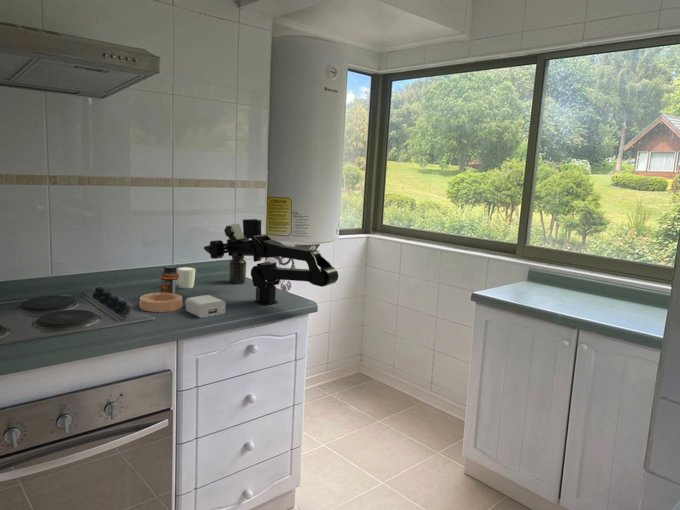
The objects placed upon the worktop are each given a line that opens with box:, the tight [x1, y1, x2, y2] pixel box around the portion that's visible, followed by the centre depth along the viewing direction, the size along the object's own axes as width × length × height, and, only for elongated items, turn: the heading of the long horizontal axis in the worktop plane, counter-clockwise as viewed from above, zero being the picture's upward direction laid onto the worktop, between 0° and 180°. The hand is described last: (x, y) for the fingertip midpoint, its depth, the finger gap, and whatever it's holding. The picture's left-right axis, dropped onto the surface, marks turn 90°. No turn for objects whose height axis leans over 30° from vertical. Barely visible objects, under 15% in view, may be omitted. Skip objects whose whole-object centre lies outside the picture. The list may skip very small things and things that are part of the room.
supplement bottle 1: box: [160, 264, 180, 295], centre depth 180 cm, size 6×6×11 cm
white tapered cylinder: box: [176, 266, 196, 289], centre depth 198 cm, size 7×7×7 cm
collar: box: [139, 292, 183, 313], centre depth 170 cm, size 13×13×3 cm
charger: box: [184, 294, 227, 319], centre depth 168 cm, size 5×9×15 cm
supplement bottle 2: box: [228, 255, 247, 285], centre depth 210 cm, size 7×7×12 cm
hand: (213, 246), depth 193 cm, fingers open, 9 cm apart
